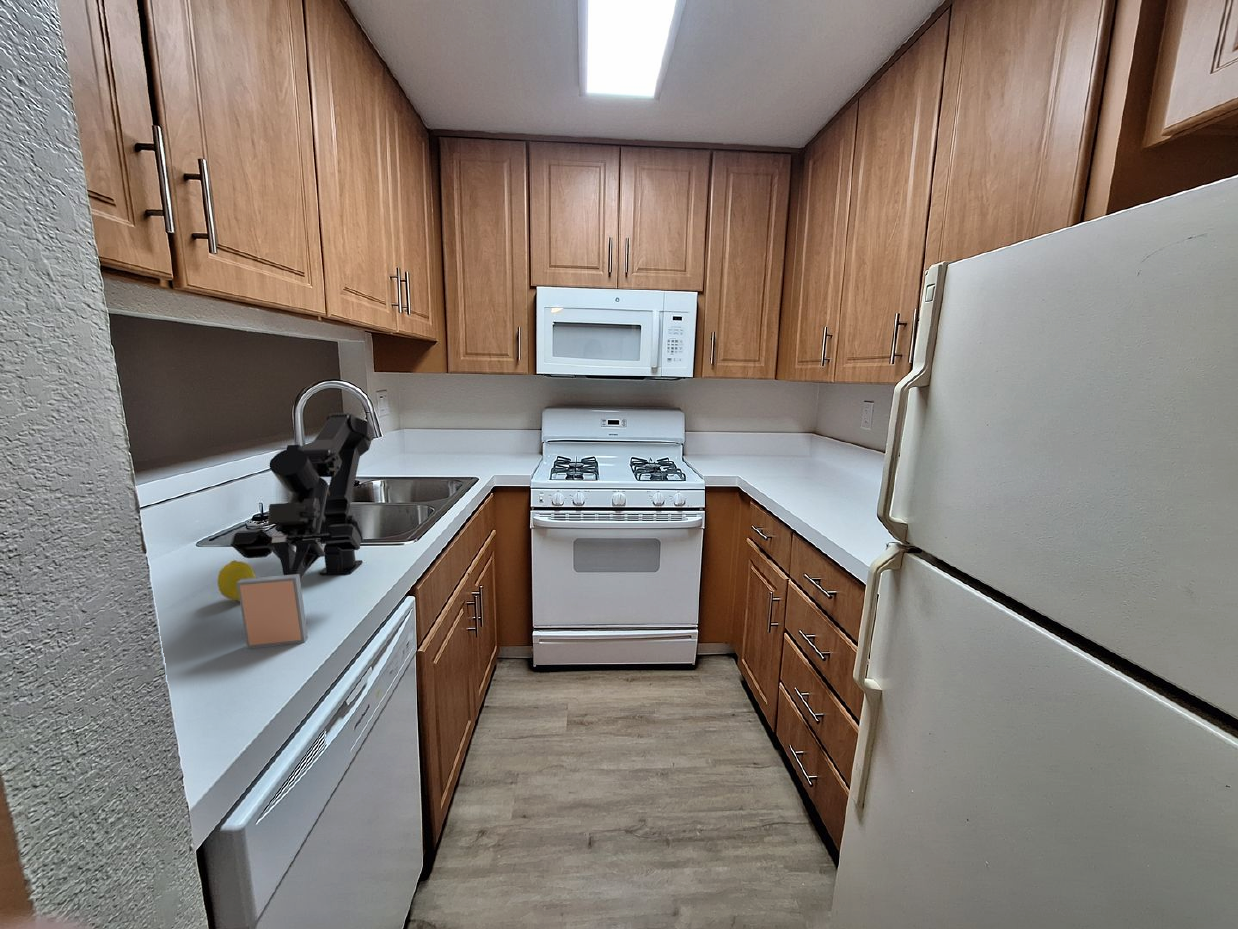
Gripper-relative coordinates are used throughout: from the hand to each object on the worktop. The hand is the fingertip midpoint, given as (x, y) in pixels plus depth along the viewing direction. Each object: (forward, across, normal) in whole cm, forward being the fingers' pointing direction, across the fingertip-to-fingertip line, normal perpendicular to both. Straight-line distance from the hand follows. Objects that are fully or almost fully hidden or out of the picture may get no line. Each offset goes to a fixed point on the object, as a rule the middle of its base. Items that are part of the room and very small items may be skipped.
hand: (289, 586), depth 83 cm
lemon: (-4, -14, +14) cm, 20 cm away
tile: (+9, 0, +1) cm, 9 cm away
